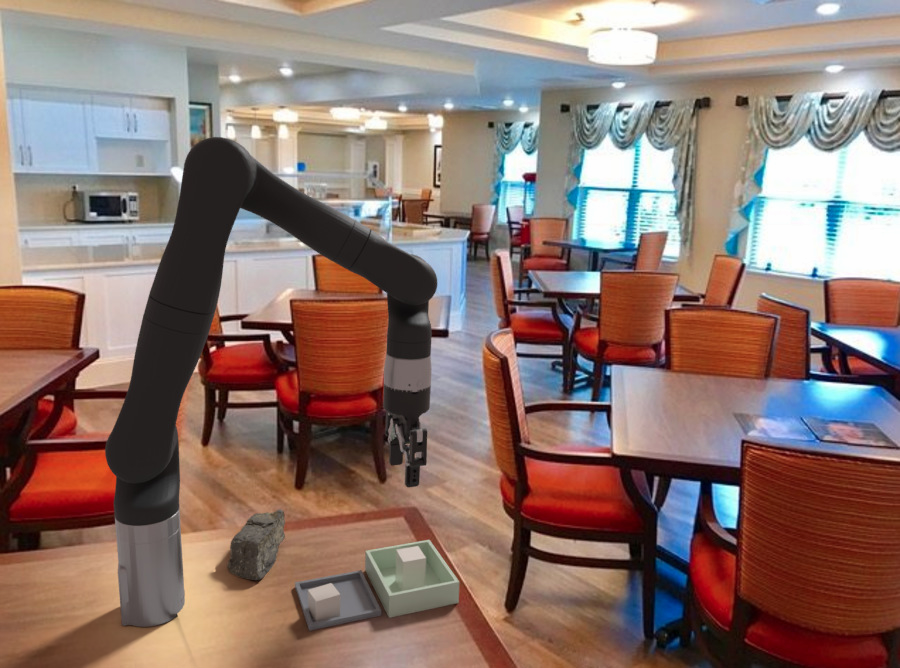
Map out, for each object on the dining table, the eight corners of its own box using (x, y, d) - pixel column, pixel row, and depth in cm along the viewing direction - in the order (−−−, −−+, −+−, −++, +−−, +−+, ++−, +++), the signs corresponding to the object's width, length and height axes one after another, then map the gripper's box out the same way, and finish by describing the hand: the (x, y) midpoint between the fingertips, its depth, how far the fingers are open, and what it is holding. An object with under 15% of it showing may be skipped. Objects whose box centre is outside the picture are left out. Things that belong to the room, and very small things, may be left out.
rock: (232, 514, 135) (284, 500, 136) (243, 545, 136) (294, 531, 137) (216, 561, 118) (275, 544, 119) (228, 595, 120) (286, 579, 121)
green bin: (388, 620, 113) (389, 596, 112) (365, 573, 125) (365, 550, 124) (458, 605, 117) (459, 581, 116) (428, 561, 130) (429, 539, 129)
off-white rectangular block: (402, 593, 119) (403, 562, 117) (395, 580, 122) (396, 549, 121) (424, 589, 120) (426, 558, 119) (417, 576, 124) (418, 545, 122)
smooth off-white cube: (316, 624, 110) (316, 601, 109) (308, 612, 113) (307, 589, 112) (340, 616, 112) (340, 594, 111) (331, 604, 115) (331, 582, 114)
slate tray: (309, 633, 109) (309, 625, 108) (295, 590, 120) (295, 582, 119) (381, 618, 113) (381, 610, 113) (361, 577, 124) (361, 570, 124)
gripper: (372, 369, 118) (369, 460, 122) (398, 397, 105) (394, 497, 109) (415, 367, 121) (411, 455, 124) (445, 393, 108) (440, 491, 112)
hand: (403, 474), depth 117 cm, fingers open, 8 cm apart
